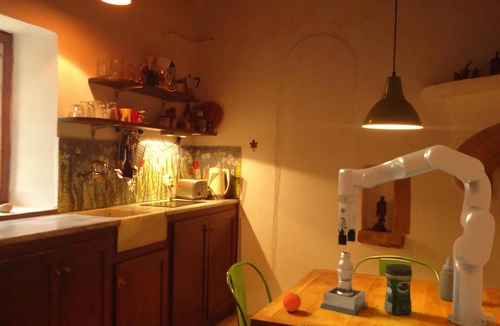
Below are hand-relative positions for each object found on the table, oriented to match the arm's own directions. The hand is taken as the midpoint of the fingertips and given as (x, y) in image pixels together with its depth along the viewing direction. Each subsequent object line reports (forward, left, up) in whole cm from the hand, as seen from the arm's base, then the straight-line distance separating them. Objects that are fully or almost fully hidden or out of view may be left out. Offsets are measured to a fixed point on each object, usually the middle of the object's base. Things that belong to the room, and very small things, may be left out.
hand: (346, 243), depth 167 cm
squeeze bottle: (-32, -39, -26) cm, 56 cm away
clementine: (+14, +17, -26) cm, 34 cm away
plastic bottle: (0, 0, -24) cm, 24 cm away
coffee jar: (-18, -7, -26) cm, 32 cm away
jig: (0, 0, -25) cm, 25 cm away
